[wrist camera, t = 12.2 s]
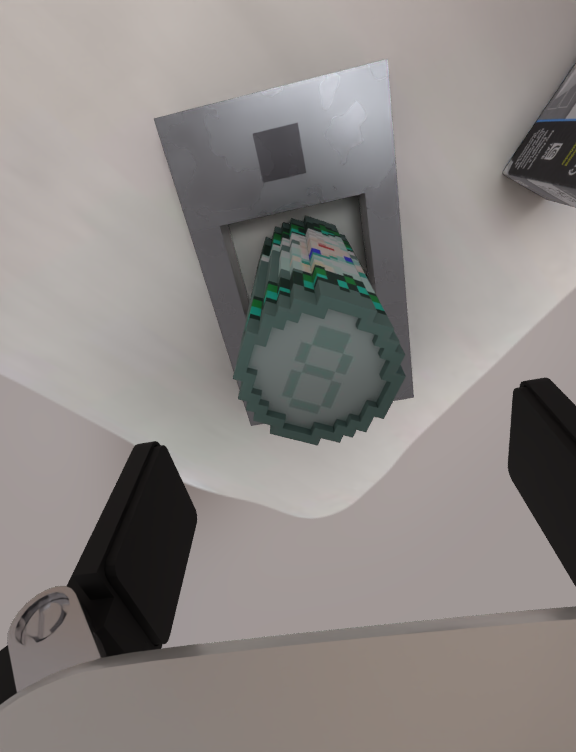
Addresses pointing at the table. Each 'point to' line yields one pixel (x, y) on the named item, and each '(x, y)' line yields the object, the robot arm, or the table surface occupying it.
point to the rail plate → (291, 181)
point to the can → (316, 339)
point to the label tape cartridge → (550, 149)
